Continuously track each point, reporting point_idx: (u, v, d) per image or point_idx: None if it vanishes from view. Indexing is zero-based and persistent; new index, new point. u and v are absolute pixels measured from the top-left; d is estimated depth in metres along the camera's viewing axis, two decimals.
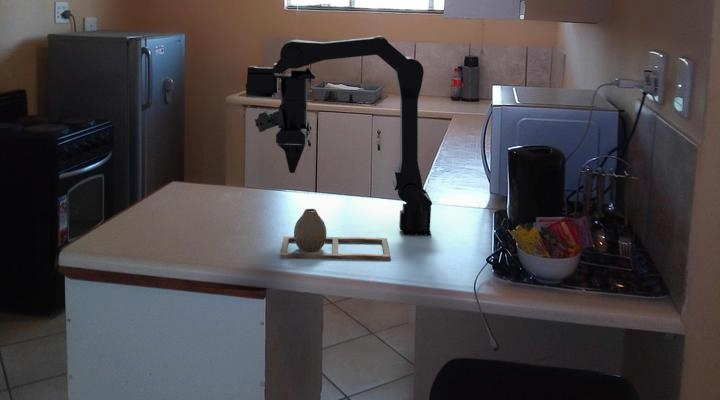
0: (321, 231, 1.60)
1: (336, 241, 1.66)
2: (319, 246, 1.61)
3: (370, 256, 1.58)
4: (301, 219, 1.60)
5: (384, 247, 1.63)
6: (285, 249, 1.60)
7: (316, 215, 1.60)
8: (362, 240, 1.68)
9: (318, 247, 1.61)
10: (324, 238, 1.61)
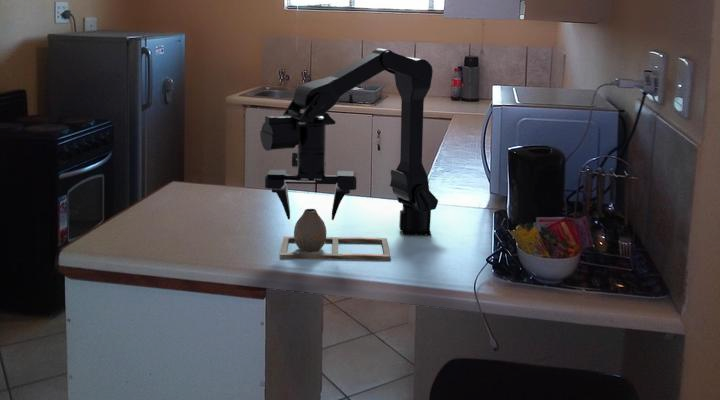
0: (321, 231, 1.60)
1: (336, 241, 1.66)
2: (319, 246, 1.61)
3: (370, 256, 1.58)
4: (301, 219, 1.60)
5: (384, 247, 1.63)
6: (285, 249, 1.60)
7: (316, 215, 1.60)
8: (362, 240, 1.68)
9: (318, 247, 1.61)
10: (324, 238, 1.61)
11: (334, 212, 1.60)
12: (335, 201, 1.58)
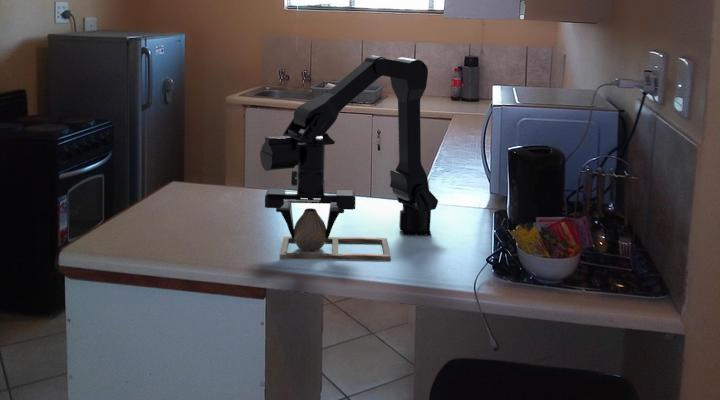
0: (321, 231, 1.60)
1: (336, 241, 1.66)
2: (319, 246, 1.61)
3: (370, 256, 1.58)
4: (301, 219, 1.60)
5: (384, 247, 1.63)
6: (285, 249, 1.60)
7: (316, 215, 1.60)
8: (362, 240, 1.68)
9: (318, 247, 1.61)
10: (324, 238, 1.61)
11: (328, 231, 1.61)
12: (329, 220, 1.59)
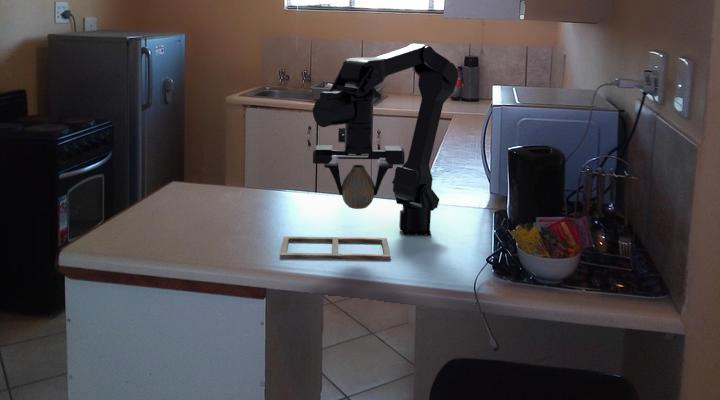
0: (369, 187, 1.58)
1: (336, 241, 1.66)
2: (367, 202, 1.59)
3: (370, 256, 1.58)
4: (349, 175, 1.58)
5: (384, 247, 1.63)
6: (285, 249, 1.60)
7: (364, 171, 1.58)
8: (362, 240, 1.68)
9: (366, 203, 1.59)
10: (372, 194, 1.59)
11: (377, 187, 1.59)
12: (378, 176, 1.57)
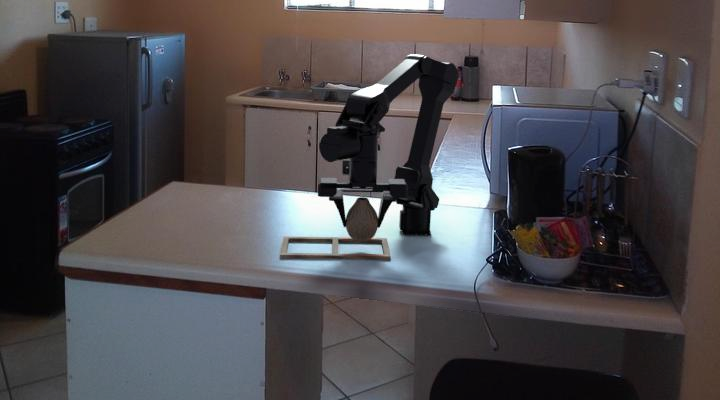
0: (373, 219, 1.60)
1: (336, 241, 1.66)
2: (371, 235, 1.60)
3: (370, 256, 1.58)
4: (353, 208, 1.60)
5: (384, 247, 1.63)
6: (285, 249, 1.60)
7: (368, 204, 1.60)
8: None
9: (370, 236, 1.60)
10: (376, 227, 1.61)
11: (380, 220, 1.61)
12: (382, 209, 1.59)
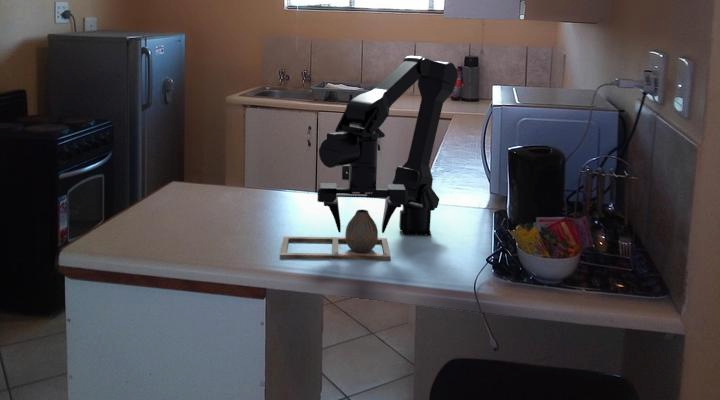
0: (373, 232, 1.60)
1: (336, 241, 1.66)
2: (371, 247, 1.61)
3: (370, 256, 1.58)
4: (353, 220, 1.61)
5: (384, 247, 1.63)
6: (285, 249, 1.60)
7: (368, 216, 1.61)
8: None
9: (370, 248, 1.61)
10: (376, 239, 1.61)
11: (385, 225, 1.61)
12: (386, 214, 1.59)
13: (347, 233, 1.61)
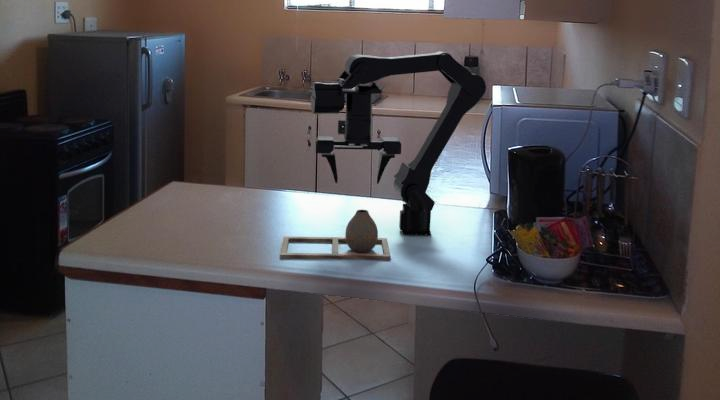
0: (373, 232, 1.60)
1: (336, 241, 1.66)
2: (371, 247, 1.61)
3: (370, 256, 1.58)
4: (353, 220, 1.61)
5: (384, 247, 1.63)
6: (285, 249, 1.60)
7: (368, 216, 1.61)
8: None
9: (370, 248, 1.61)
10: (376, 239, 1.61)
11: (379, 176, 1.70)
12: (381, 165, 1.68)
13: (347, 233, 1.61)
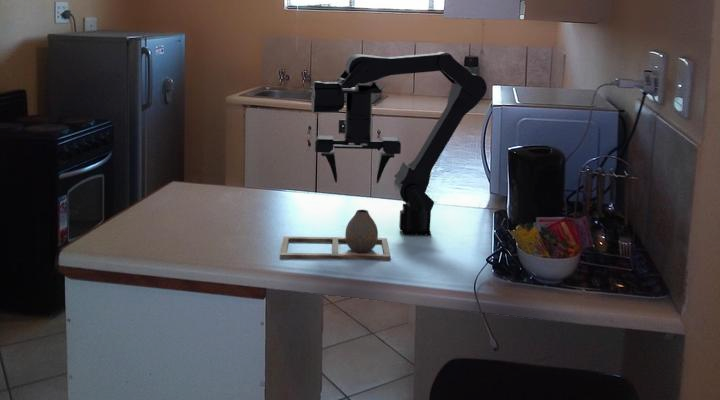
0: (373, 232, 1.60)
1: (336, 241, 1.66)
2: (371, 247, 1.61)
3: (370, 256, 1.58)
4: (353, 220, 1.61)
5: (384, 247, 1.63)
6: (285, 249, 1.60)
7: (368, 216, 1.61)
8: None
9: (370, 248, 1.61)
10: (376, 239, 1.61)
11: (379, 175, 1.70)
12: (380, 165, 1.68)
13: (347, 233, 1.61)
